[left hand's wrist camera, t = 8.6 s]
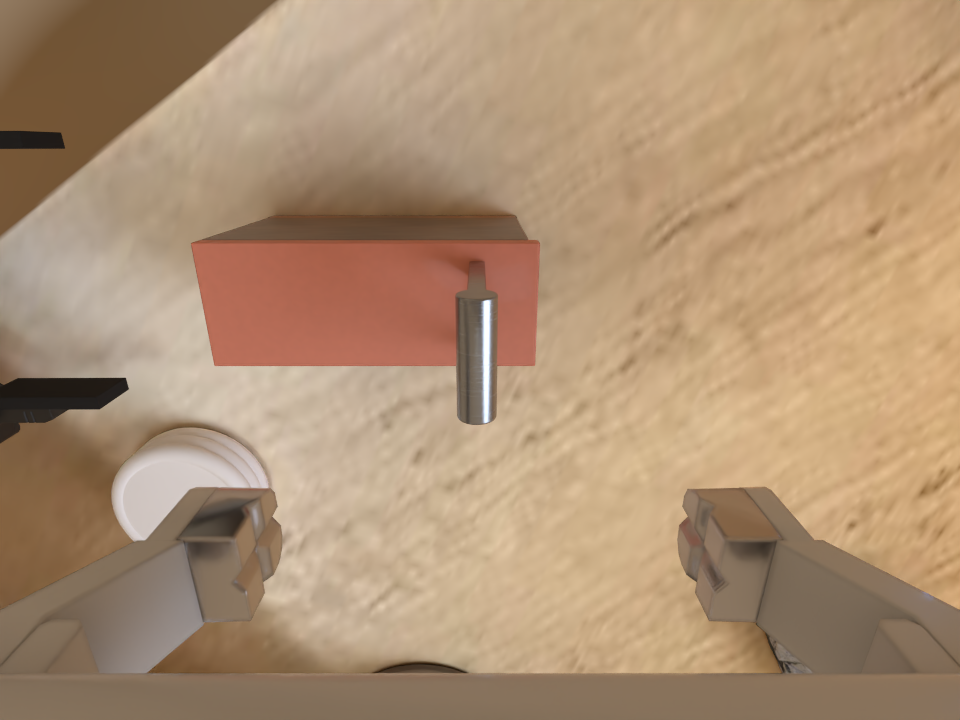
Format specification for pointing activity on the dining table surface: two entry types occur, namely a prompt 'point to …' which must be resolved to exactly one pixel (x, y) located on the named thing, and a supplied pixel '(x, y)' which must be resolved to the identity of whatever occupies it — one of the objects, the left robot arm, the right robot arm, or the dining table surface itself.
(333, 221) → the chest
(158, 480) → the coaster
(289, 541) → the dining table surface
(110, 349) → the dining table surface
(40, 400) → the right robot arm
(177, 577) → the left robot arm
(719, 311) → the dining table surface
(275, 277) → the lid
